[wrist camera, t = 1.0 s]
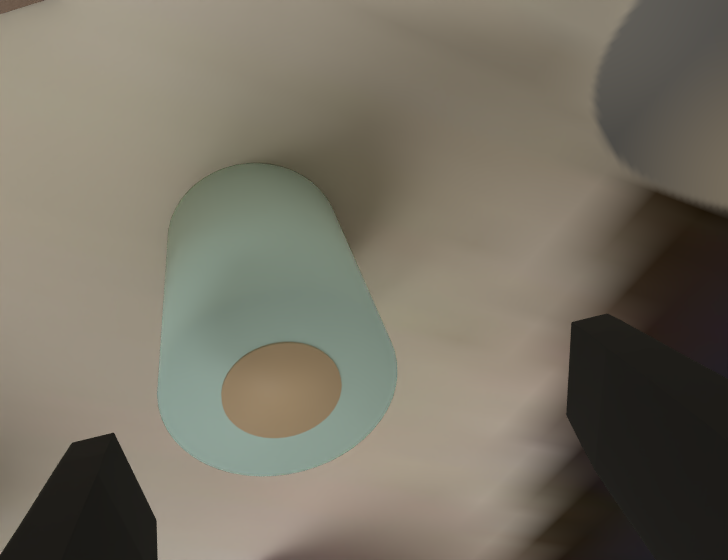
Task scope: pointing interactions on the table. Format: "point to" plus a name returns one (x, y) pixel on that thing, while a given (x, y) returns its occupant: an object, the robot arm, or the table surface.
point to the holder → (15, 4)
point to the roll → (267, 327)
